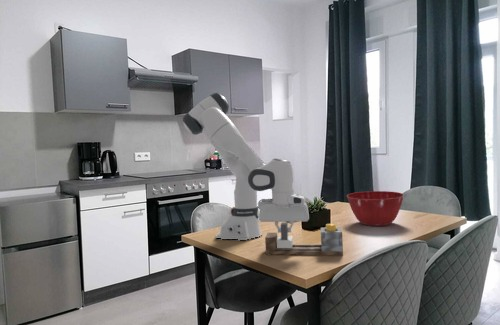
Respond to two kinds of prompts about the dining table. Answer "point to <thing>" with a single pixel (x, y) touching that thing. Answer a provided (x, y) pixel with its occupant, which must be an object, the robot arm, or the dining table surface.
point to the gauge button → (330, 227)
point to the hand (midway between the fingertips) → (284, 232)
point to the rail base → (329, 245)
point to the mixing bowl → (375, 206)
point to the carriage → (284, 237)
